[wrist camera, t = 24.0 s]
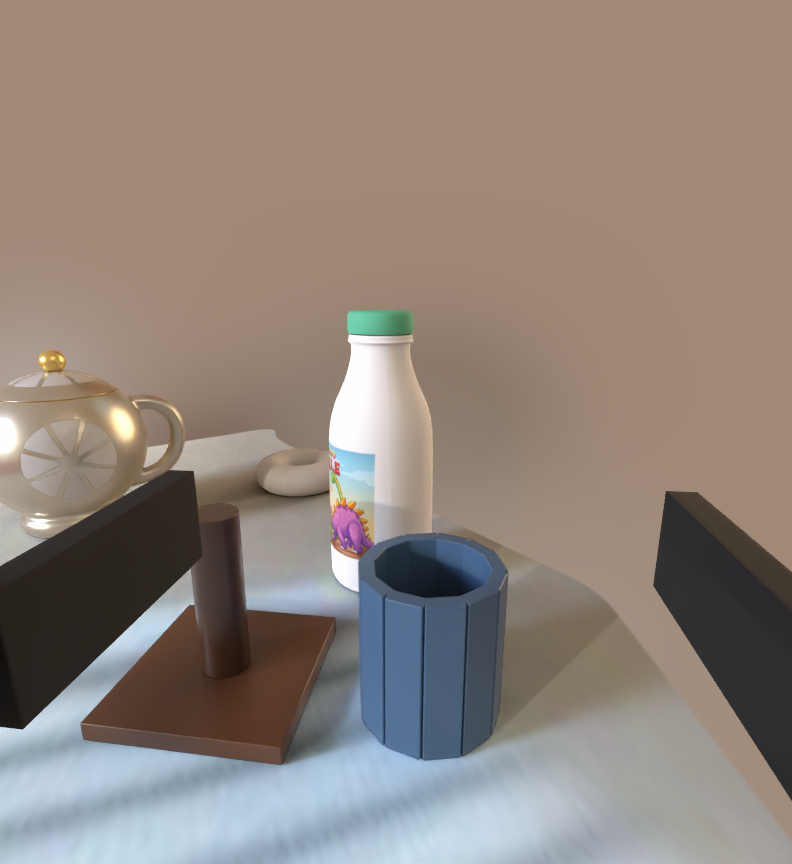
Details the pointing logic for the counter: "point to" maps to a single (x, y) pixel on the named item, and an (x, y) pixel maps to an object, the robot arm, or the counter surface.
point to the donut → (295, 472)
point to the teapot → (74, 445)
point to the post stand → (218, 667)
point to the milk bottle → (378, 443)
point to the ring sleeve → (431, 643)
